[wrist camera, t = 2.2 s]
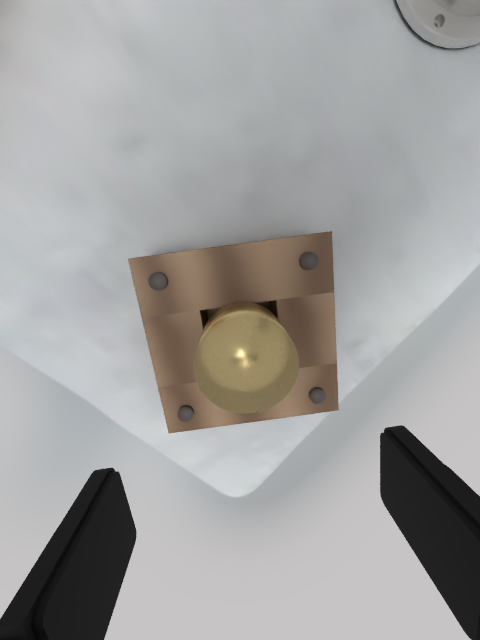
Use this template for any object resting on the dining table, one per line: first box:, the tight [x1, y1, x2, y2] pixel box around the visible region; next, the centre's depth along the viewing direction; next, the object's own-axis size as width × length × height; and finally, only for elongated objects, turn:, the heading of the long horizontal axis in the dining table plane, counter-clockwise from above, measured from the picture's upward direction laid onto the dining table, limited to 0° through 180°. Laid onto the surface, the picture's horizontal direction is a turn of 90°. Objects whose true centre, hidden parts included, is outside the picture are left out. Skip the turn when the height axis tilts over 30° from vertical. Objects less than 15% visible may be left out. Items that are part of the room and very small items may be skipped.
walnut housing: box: [128, 231, 339, 433], centre depth 25 cm, size 16×16×6 cm
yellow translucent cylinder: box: [194, 302, 299, 414], centre depth 22 cm, size 7×7×10 cm
